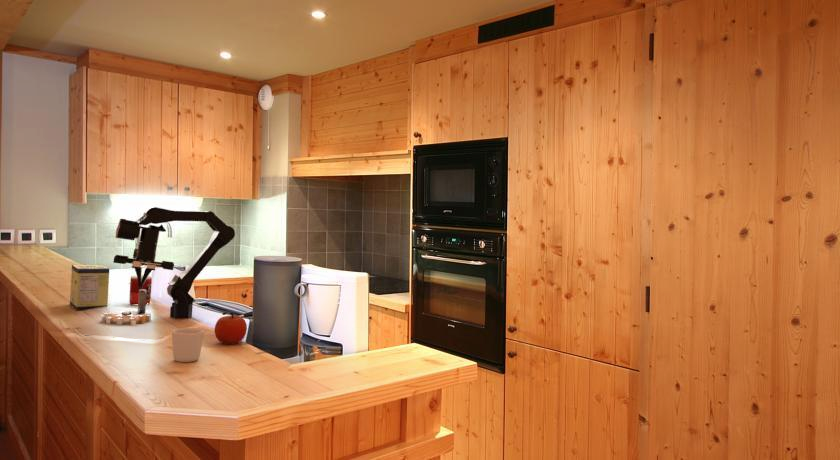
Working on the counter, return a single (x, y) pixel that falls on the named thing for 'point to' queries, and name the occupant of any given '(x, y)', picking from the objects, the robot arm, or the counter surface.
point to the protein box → (89, 287)
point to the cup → (187, 344)
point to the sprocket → (129, 313)
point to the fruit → (230, 328)
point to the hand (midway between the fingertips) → (140, 287)
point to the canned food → (135, 289)
